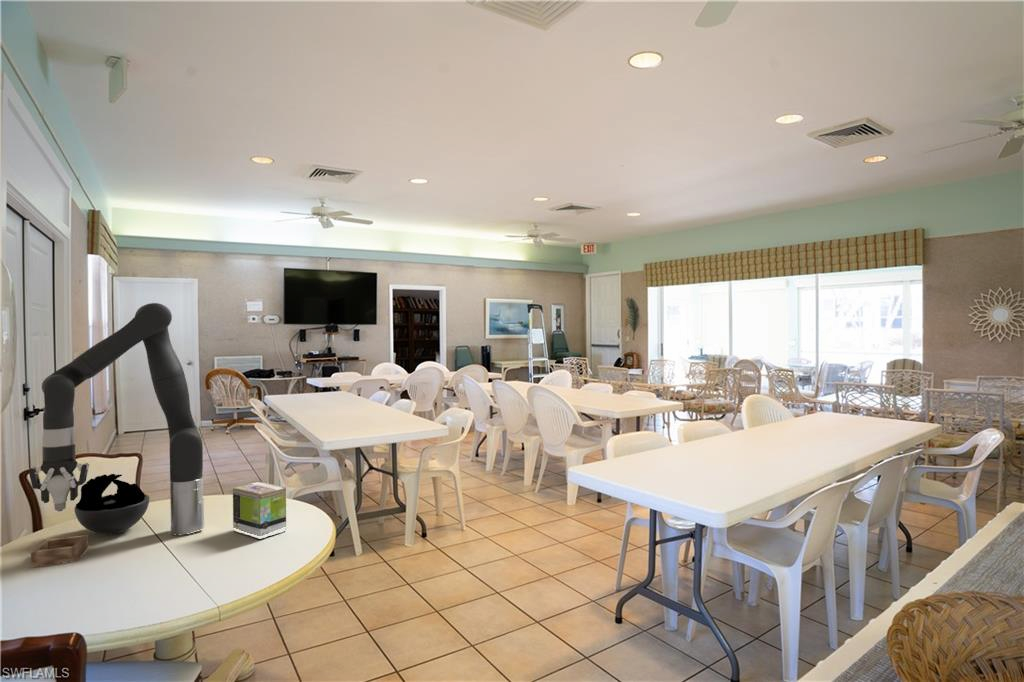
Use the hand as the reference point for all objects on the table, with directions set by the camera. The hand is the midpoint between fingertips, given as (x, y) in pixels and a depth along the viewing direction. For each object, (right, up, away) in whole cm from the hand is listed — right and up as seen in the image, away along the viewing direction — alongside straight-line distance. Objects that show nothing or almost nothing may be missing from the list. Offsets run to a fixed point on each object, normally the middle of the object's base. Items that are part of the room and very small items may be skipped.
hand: (59, 500), depth 165 cm
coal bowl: (+1, -16, +20) cm, 26 cm away
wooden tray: (0, -16, 0) cm, 16 cm away
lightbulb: (0, -3, 0) cm, 3 cm away
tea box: (+49, -16, +21) cm, 56 cm away
